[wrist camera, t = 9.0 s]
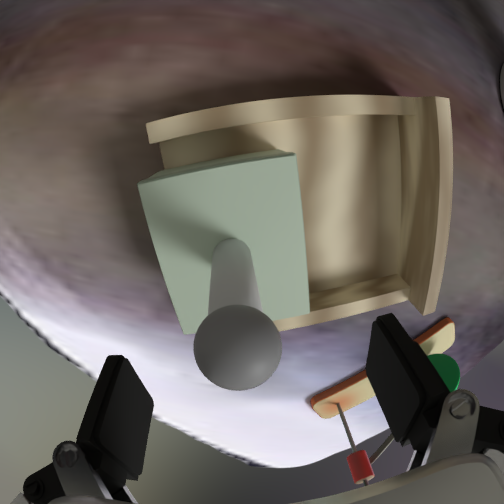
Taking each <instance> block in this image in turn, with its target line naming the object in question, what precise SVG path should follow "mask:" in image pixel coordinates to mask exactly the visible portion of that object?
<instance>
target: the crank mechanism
mask: <svg viewBox="0 0 504 504" xmlns="http://www.w3.org/2000/svg"><path fill="white" fill-rule="evenodd" d="M454 340H455V327H454V322H453V321H452V320H451V319H450V318H444V319H443V320H441V321H440V322H439V323H437V324H436V325H434V326H433V327H432V328H430V329H429V330H427V331H426V332H425V333H423V334H422V335H420V336H419V337H417V338H416V339H414V340H413V341H416V342H417V343H418V344H419V345H420V347H421V348H422V349H423V351H424V352H425V354H426V355H427V357H428V358H429V360H430V361H431V363H432V364H433V366H434V367H435V369H436V370H437V372H438V373H439V375H440V376H441V378H442V379H443V381H444V383H445V384H446V386H447V387H448V389H449V391H450V392H452V391H454V390H456V389H457V387H458V384H459V380H460V370H459V367H458V364H457V363H456V361H455V360H454V359H453V358H451V357H450V356H448V355H445V354H441V353H443V352H444V351H445V350H447V349H448V348H449V347H450V346H451V345H452V344H453V342H454ZM373 396H375V393H374V390H373V388H372V386H371V384H370V382H369V379H368V377H367V375H366V370H364V371H362V372H360V373H359V374H357V375H355V376H353V377H351V378H349V379H347V380H346V381H344V382H342V383H340V384H338V385H336V386H334V387H332V388H330V389H328V390H326V391H324V392H322V393H319V394H317V395H316V396H314V397H313V398H312V399H311V405H312V408H313V410H314V411H315V412H316V413H317V414H318V415H319V416H320V417H321V418H324V419H327V418H331V417H334V416H336V415H338V414H340V416H341V419H342V422H343V425H344V428H345V430H346V433H347V436H348V439H349V442H350V445H351V447H352V450H353V453H352V454H350V455H349V456H348V457H347V461H348V464H349V467H350V470H351V473H352V477H353V480H354V483H355V484H360V483H364V485H365V486H368V485H369V484H368V480H370V479H372V478H373V477H374V476H375V475H374V472H373V470H372V467H371V464H372V463H373V462H374V461H375V460H376V459H377V458H378V457H379V455H380V454H381V453H382V452H383V451H384V450H385V449H386V448H387V446H388V445H389V444H390V443H391V442H392V440H393V439H394V437H393V434H392V433H391V435H390V436H389V437H388V438H387V439H386V440H385V442H384V443H383V444H382V445H381V446H380V447H379V448H378V450H377V451H376V452H375V453H374V454H373V455H372V456H371V457H370V458H369V459H368V456H367V453H366V451H365V450H360V451H357V449H356V447H355V444H354V441H353V438H352V436H351V433H350V430H349V427H348V425H347V422H346V419H345V416H344V414H343V412H344V411H346V410H348V409H350V408H352V407H354V406H356V405H358V404H360V403H362V402H364V401H366V400H368V399H370V398H372V397H373Z"/></svg>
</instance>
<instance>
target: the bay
mask: <svg viewBox="0 0 504 504" xmlns="http://www.w3.org/2000/svg"><path fill="white" fill-rule="evenodd" d="M146 128H147V133H148V138H149V143H150V144H153V143H158V142H159V145H160V150H161V155H162V160H163V165H164V169H165V170H166V169H171V168H175V167H180V166H184V165H189V164H193V163H198V162H203V161H208V160H213V159H219V158H224V157H230V156H236V155H242V154H248V153H254V152H261V151H268V150H275V149H280V150H282V151H285V152H293V153H296V157H297V165H298V174H299V182H300V191H301V201H302V211H303V221H304V232H305V244H306V257H307V271H308V286H309V304H310V313H309V314H305V315H300V316H295V317H290V318H285V319H280V320H275V321H273V323H274V324H275V326H276V327H277V329H278V331H284V330H289V329H294V328H299V327H303V326H308V325H313V324H317V323H322V322H326V321H331V320H335V319H339V318H343V317H347V316H351V315H355V314H359V313H363V312H367V311H371V310H375V309H378V308H382V307H385V306H389V305H393V304H396V303H399V302H403V301H406V300H409V301H410V302H411V303H412V304H413V305H414V306H415V307H416V309H417V310H418V311H419V312H420V313H421V314H422V315H423V316H424V315H427V314H429V313H432V312H435V308H436V304H437V300H438V295H439V291H440V286H441V281H442V276H443V270H444V264H445V258H446V252H447V244H448V237H449V228H450V217H451V205H452V185H453V144H452V125H451V112H450V102H449V98H443V97H436V96H434V97H401V96H384V95H320V96H302V97H289V98H278V99H269V100H260V101H252V102H245V103H238V104H232V105H226V106H220V107H215V108H209V109H204V110H199V111H194V112H190V113H185V114H181V115H177V116H172V117H168V118H164V119H160V120H157V121H153V122H149V123H146Z"/></svg>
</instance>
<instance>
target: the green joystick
mask: <svg viewBox="0 0 504 504" xmlns="http://www.w3.org/2000/svg"><path fill="white" fill-rule="evenodd" d="M137 186H138V190H139V194H140V198H141V202H142V206H143V210H144V213H145V217H146V221H147V224H148V228H149V231H150V235H151V238H152V242H153V245H154V249H155V252H156V255H157V258H158V262H159V265H160V268H161V271H162V274H163V277H164V280H165V283H166V286H167V289H168V292H169V295H170V298H171V301H172V304H173V306H174V309H175V312H176V315H177V318H178V320H179V323H180V326H181V328H182V331H183V334H184V335H186V334H194V333H196V335H195V339H194V356H195V360H196V363H197V365H198V367H199V369H200V370H201V372H202V373H203V375H204V376H205V377H206V378H207V379H208V380H210V381H211V382H212V383H214V384H216V385H217V386H219V387H222V388H225V389H229V390H236V391H241V390H248V389H252V388H254V387H257V386H259V385H261V384H262V383H264V382H265V381H266V380H268V379H269V378H270V377H271V376H272V374H273V373H274V372H275V370H276V368H277V367H278V364H279V362H280V359H281V354H282V342H281V337H280V334H279V331H278V329H277V327H276V326H275V324H274V323H273V321H275V320H280V319H285V318H290V317H295V316H300V315H305V314H309V313H310V304H309V286H308V271H307V257H306V244H305V232H304V221H303V211H302V201H301V191H300V182H299V174H298V165H297V157H296V153H293V152H285V151H282V150H280V149H275V150H268V151H261V152H254V153H248V154H242V155H236V156H230V157H224V158H219V159H213V160H208V161H203V162H198V163H193V164H189V165H184V166H180V167H175V168H171V169H166V170H162V171H158V172H157V173H155V174H154V175H152V176H151V177H149V178H148V179H145V180H141V181H140V182H138V183H137Z"/></svg>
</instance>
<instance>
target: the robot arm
mask: <svg viewBox="0 0 504 504" xmlns="http://www.w3.org/2000/svg"><path fill="white" fill-rule="evenodd" d="M500 90H501V97H502V103H503V107H504V64H503V66H502V69H501V75H500ZM366 375H367V377H368V379H369V382H370V384H371V386H372V388H373V390H374V393H375V395H376V397H377V399H378V402H379V404H380V406H381V408H382V411H383V413H384V415H385V418H386V420H387V422H388V425H389V427H390V429H391V432H392V434H393V437H394V439H395V440H396V442H399V441H400V443H401V445H402V447H403V446H405V445H408V444H410V443H411V445H412V447H413V449H414V450H415V451H414V454H413V456H412V459H411V461H410V464H409V466H408V469H407V471H406V472H405V473H402V474H400V475H397V476H394V477H391V478H389V479H386V480H383V481H380V482H377V483H374V484H371V485H368V486H364V487H361V488H358V489H355V490H351V491H347V492H344V493H340V494H336V495H332V496H328V497H324V498H319V499H314V500H309V501H303V502H298V503H291V504H504V411H500V410H496V409H491V408H487V407H483V406H479V401H478V399H477V397H476V396H475V394H473V393H472V392H470V391H468V390H465V389H458V390H454V391H452V392H450V391H449V389H448V387H447V386H446V384H445V383H444V381H443V379H442V378H441V376H440V375H439V373H438V372H437V370H436V369H435V367H434V366H433V364H432V363H431V361H430V360H429V358H428V357H427V355H426V354H425V352H424V351H423V349H422V348H421V347H420V345H419V344H418V343H417V342H416V341H412V340H411V338H410V337H409V335H408V334H407V332H406V331H405V330H404V328H403V327H402V325H401V324H400V323H399V321H398V320H397V318H396V317H395V316H394V314H392V313H389V314H385V315H382V316H378V317H377V319H376V321H374V322H373V324H372V331H371V338H370V345H369V351H368V357H367V363H366ZM153 407H154V403H153V399H152V397H151V396H150V394H149V393H148V391H147V390H146V388H145V387H144V385H143V383H142V382H141V380H140V379H139V377H138V375H137V374H136V372H135V370H134V369H133V367H132V365H131V364H130V362H129V360H128V359H127V358H124V356H122V355H109V356H108V357H107V358H106V361H105V363H104V365H103V368H102V370H101V373H100V375H99V378H98V380H97V383H96V385H95V388H94V391H93V393H92V396H91V399H90V401H89V404H88V406H87V409H86V412H85V415H84V418H83V421H82V423H81V426H80V429H79V432H78V435H77V438H76V439H77V441H76V443H75V442H73V441H64V442H61V443H60V444H59V445H57V447H56V448H55V449H54V452H53V457H52V459H53V462H52V463H51V464H49V465H47V466H46V467H44V468H42V469H41V470H39V471H37V472H35V473H34V474H32V475H30V476H29V477H28V478H27V479H26V480H25V482H24V485H23V491H24V494H23V493H20V494H19V495H18V496H17V497H16V498H15V499H14V500H13V501H12V503H11V504H138V503H137V501H136V500H135V499H134V497H133V496H132V494H131V493H130V491H129V490H128V488H127V487H126V485H125V483H126V479H129V480H137V481H138V475H140V474H141V473H142V469H143V463H144V457H145V451H146V445H147V439H148V433H149V428H150V422H151V418H152V412H153Z"/></svg>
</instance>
